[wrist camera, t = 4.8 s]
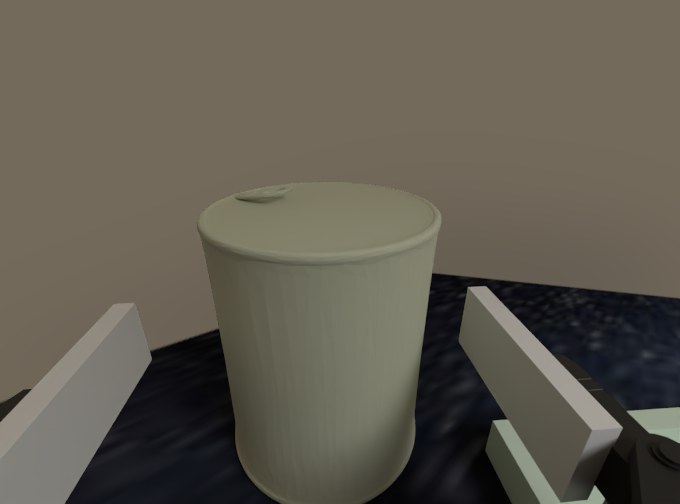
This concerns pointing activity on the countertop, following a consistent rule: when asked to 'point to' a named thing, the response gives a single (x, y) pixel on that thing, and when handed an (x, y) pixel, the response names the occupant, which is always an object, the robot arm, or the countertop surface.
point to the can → (322, 332)
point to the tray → (526, 478)
